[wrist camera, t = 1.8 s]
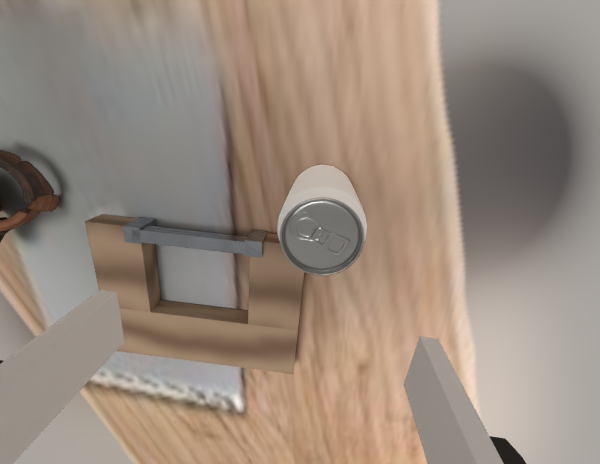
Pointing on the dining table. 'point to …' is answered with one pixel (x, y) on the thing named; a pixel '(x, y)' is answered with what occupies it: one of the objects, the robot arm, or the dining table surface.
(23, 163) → the pottery mug
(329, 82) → the dining table surface
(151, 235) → the cross rail
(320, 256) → the can
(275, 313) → the wooden frame board
